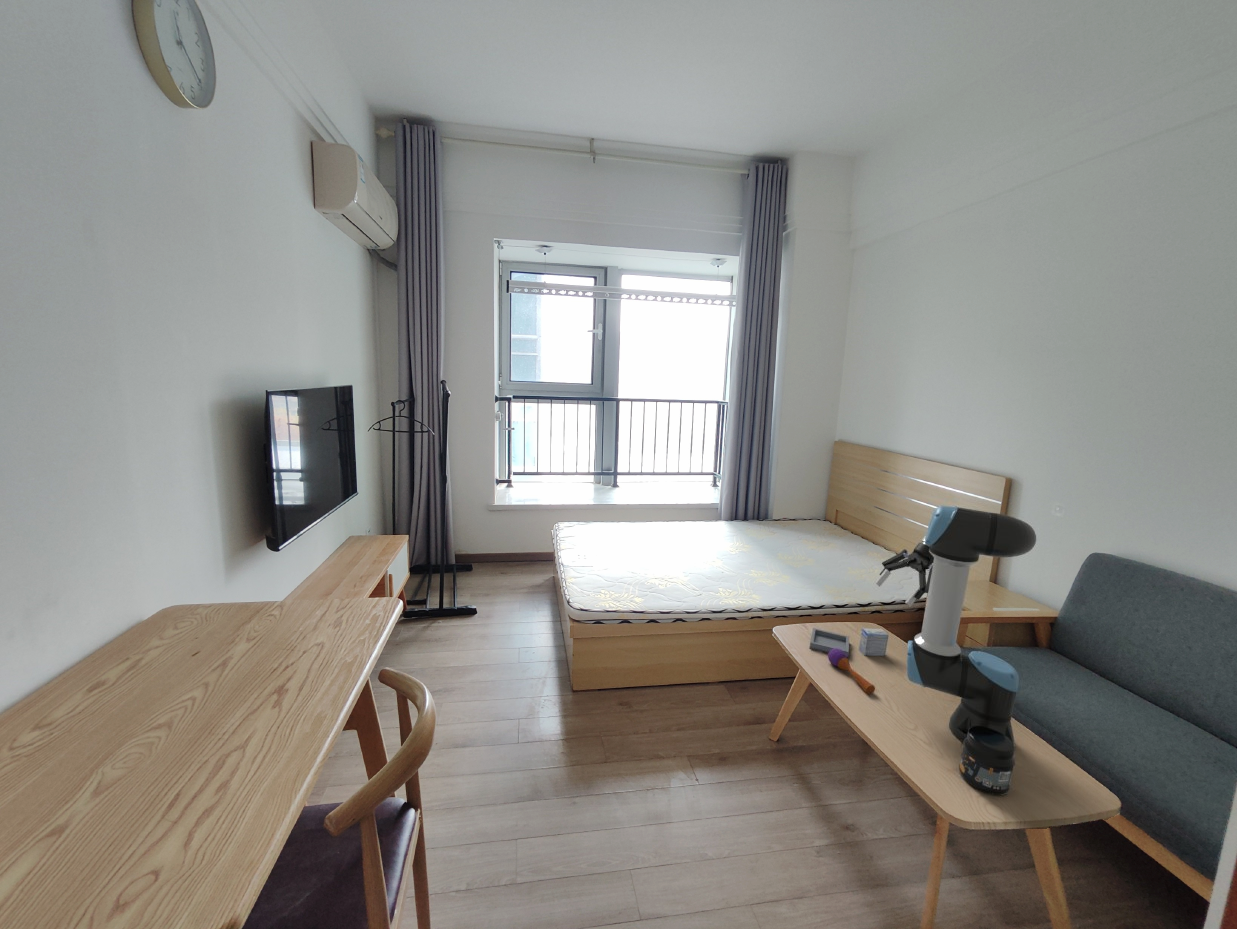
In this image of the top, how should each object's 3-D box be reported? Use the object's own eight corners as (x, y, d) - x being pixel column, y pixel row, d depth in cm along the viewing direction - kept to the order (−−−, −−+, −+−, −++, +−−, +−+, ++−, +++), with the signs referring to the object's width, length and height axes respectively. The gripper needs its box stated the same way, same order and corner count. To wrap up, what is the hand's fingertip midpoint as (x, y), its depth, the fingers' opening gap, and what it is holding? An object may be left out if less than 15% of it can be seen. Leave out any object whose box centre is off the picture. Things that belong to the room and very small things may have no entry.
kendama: (862, 684, 162) (824, 646, 181) (861, 699, 164) (824, 661, 182) (879, 679, 163) (839, 643, 182) (878, 695, 165) (839, 657, 183)
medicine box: (878, 650, 192) (882, 628, 190) (885, 656, 187) (889, 634, 186) (858, 649, 191) (861, 627, 190) (864, 656, 187) (867, 633, 185)
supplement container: (962, 759, 136) (970, 718, 134) (1011, 781, 129) (1020, 739, 127) (953, 779, 129) (961, 736, 127) (1005, 805, 122) (1015, 760, 120)
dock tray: (847, 658, 184) (848, 651, 184) (809, 648, 190) (810, 642, 189) (848, 642, 196) (849, 636, 196) (812, 633, 201) (813, 627, 201)
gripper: (966, 569, 174) (926, 618, 175) (906, 538, 197) (870, 581, 197) (957, 559, 171) (916, 608, 172) (896, 528, 193) (860, 572, 194)
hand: (891, 594), depth 184 cm, fingers open, 13 cm apart
